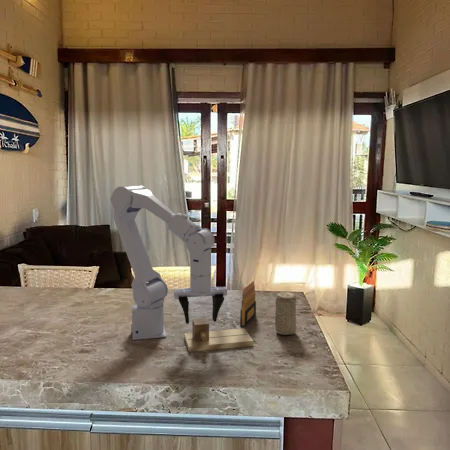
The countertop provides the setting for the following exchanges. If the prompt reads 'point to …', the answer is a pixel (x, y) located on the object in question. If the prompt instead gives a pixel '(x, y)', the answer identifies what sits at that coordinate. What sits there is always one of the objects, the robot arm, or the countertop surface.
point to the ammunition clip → (248, 305)
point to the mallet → (200, 330)
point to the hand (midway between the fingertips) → (200, 321)
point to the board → (220, 340)
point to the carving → (285, 313)
